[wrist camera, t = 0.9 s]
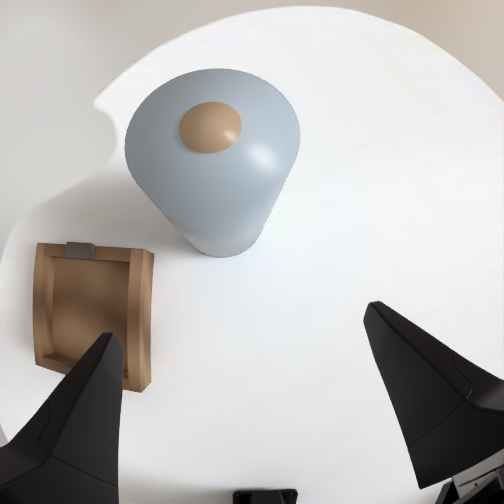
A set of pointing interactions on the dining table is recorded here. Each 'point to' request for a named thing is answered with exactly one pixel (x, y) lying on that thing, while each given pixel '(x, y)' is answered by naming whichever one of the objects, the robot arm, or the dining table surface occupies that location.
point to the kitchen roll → (214, 155)
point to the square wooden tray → (92, 305)
